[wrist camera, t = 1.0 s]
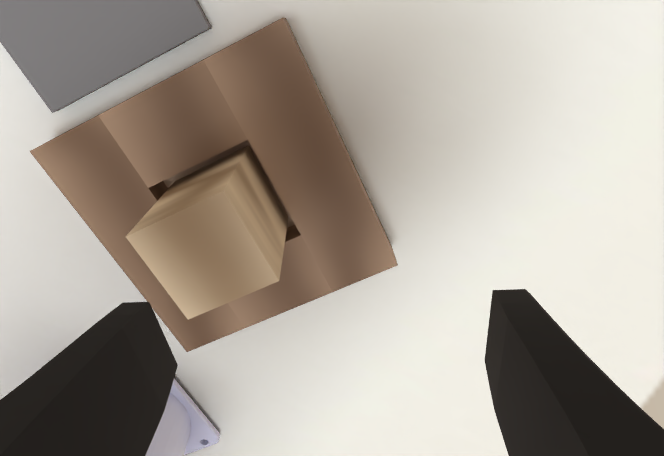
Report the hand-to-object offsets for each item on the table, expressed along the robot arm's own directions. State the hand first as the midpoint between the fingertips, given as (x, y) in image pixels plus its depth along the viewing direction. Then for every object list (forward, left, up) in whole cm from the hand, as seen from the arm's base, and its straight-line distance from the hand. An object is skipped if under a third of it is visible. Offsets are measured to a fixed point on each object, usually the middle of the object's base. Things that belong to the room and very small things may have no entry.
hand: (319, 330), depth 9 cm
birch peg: (-5, 0, -13) cm, 13 cm away
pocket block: (-5, 0, -13) cm, 14 cm away
